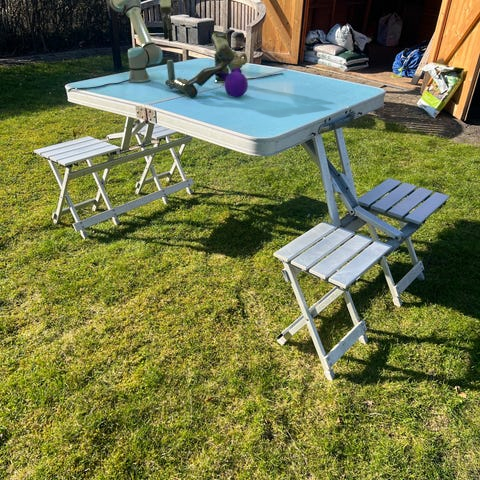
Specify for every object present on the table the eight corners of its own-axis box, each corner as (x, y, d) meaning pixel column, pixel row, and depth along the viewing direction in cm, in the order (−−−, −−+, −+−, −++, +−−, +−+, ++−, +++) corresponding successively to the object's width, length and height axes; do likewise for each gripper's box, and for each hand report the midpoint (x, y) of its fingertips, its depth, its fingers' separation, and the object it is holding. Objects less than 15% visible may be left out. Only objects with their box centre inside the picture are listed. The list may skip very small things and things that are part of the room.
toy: (234, 89, 306) (247, 103, 285) (210, 85, 299) (222, 98, 278) (240, 65, 298) (254, 78, 277) (215, 60, 291) (228, 72, 270)
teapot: (227, 73, 361) (227, 53, 353) (221, 70, 369) (220, 51, 362) (250, 70, 370) (250, 50, 362) (243, 68, 378) (242, 49, 371)
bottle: (168, 88, 315) (165, 60, 306) (169, 86, 319) (167, 59, 310) (175, 88, 315) (172, 60, 306) (176, 86, 319) (174, 59, 310)
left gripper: (156, 6, 315) (159, 38, 326) (164, 7, 295) (167, 42, 306) (166, 5, 318) (169, 38, 328) (175, 7, 298) (178, 41, 308)
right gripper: (171, 92, 298) (163, 87, 310) (191, 89, 303) (183, 85, 316) (170, 80, 294) (162, 76, 307) (190, 77, 299) (182, 73, 312)
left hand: (168, 40), depth 317 cm, fingers open, 13 cm apart
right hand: (173, 80), depth 311 cm, fingers open, 8 cm apart
